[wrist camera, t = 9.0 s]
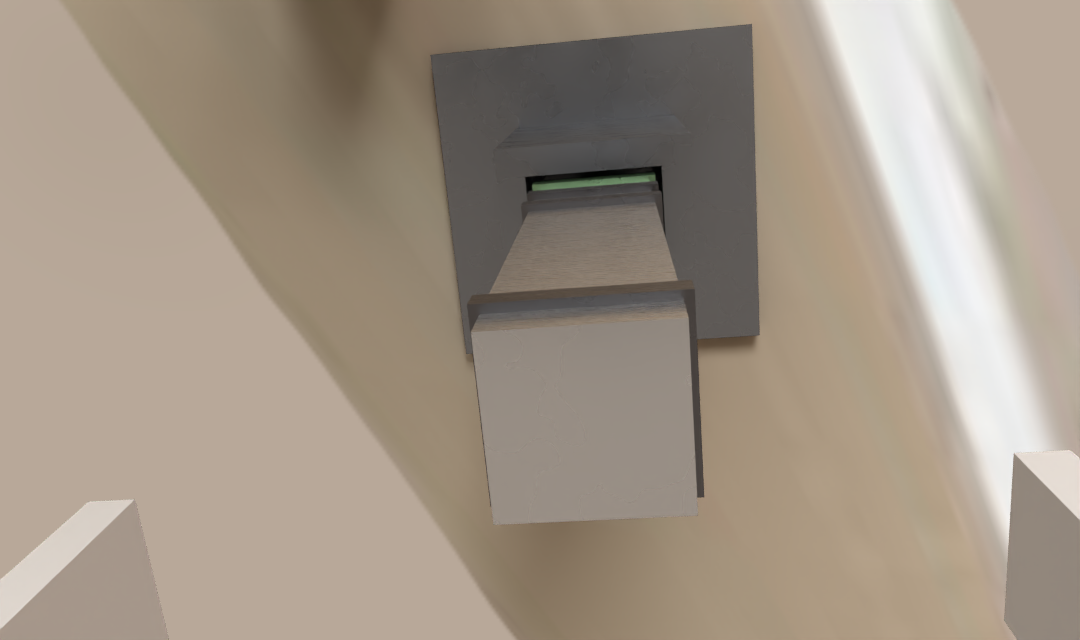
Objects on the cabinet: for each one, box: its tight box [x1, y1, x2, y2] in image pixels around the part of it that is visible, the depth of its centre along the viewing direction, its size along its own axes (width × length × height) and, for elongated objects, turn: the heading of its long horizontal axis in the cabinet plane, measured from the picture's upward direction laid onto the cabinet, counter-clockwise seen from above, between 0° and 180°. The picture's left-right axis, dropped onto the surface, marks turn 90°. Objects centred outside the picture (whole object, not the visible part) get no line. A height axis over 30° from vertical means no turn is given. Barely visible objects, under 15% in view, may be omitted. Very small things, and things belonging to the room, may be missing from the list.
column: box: [467, 172, 704, 525], centre depth 30 cm, size 5×5×22 cm
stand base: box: [431, 24, 760, 354], centre depth 43 cm, size 16×16×12 cm
